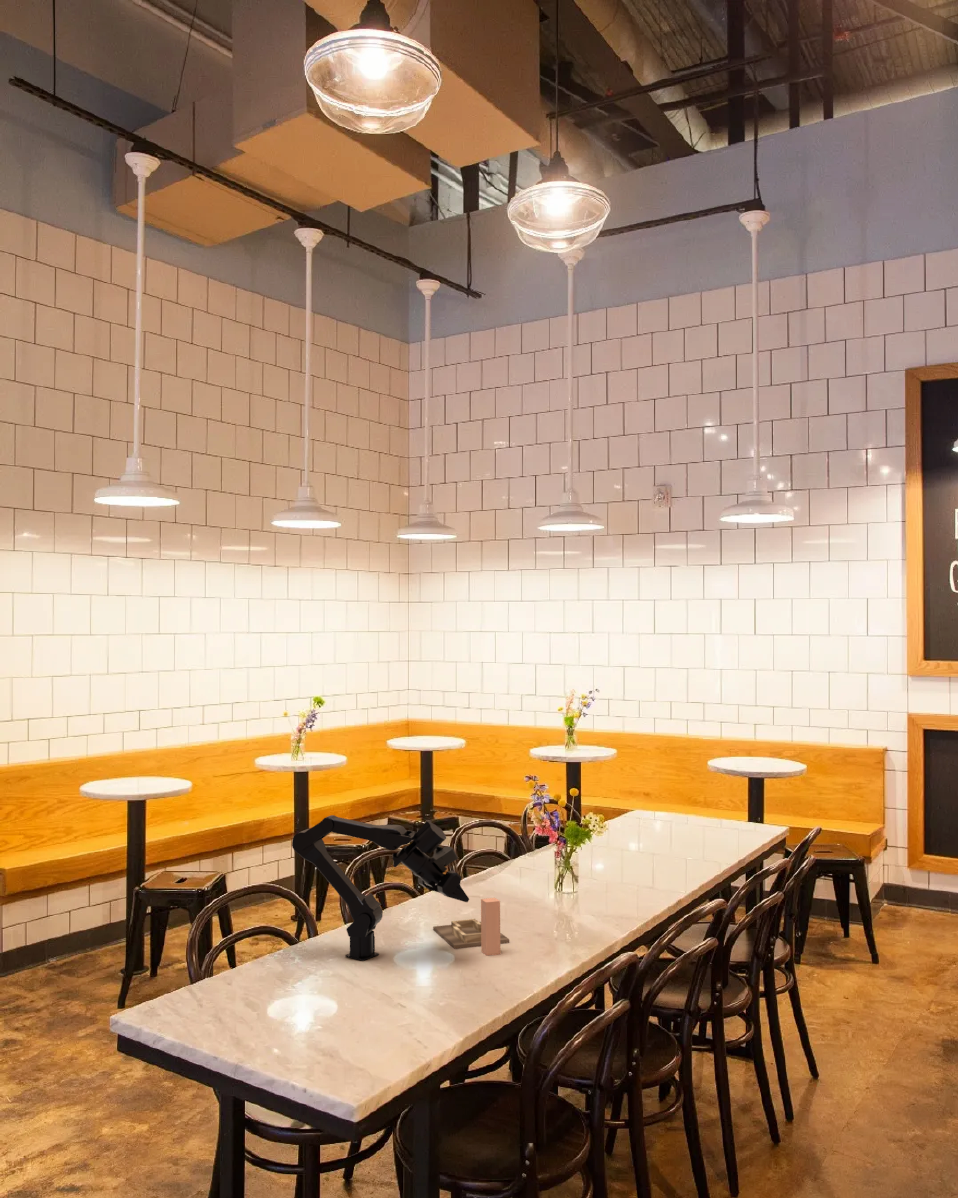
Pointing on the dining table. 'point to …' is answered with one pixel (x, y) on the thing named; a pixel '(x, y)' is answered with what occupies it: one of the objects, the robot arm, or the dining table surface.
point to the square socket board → (463, 933)
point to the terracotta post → (490, 926)
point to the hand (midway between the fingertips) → (461, 898)
